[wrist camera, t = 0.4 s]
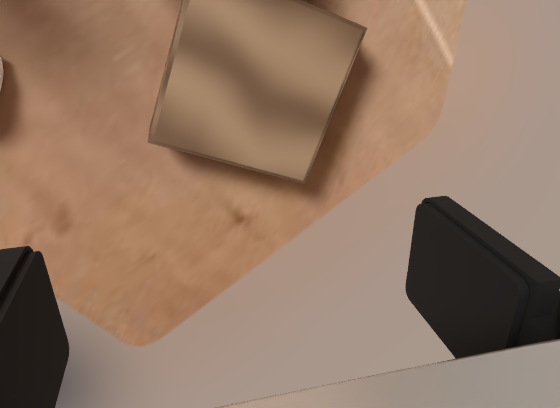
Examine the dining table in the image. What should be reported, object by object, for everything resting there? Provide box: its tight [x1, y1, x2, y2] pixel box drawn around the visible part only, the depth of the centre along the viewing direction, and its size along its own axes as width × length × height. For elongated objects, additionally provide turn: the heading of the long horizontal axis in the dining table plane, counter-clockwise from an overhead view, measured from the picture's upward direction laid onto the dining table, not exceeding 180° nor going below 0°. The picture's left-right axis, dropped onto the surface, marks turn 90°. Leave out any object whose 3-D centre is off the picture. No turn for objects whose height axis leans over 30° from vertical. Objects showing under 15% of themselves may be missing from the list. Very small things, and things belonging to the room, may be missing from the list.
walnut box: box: [148, 0, 367, 184], centre depth 35 cm, size 13×13×5 cm
